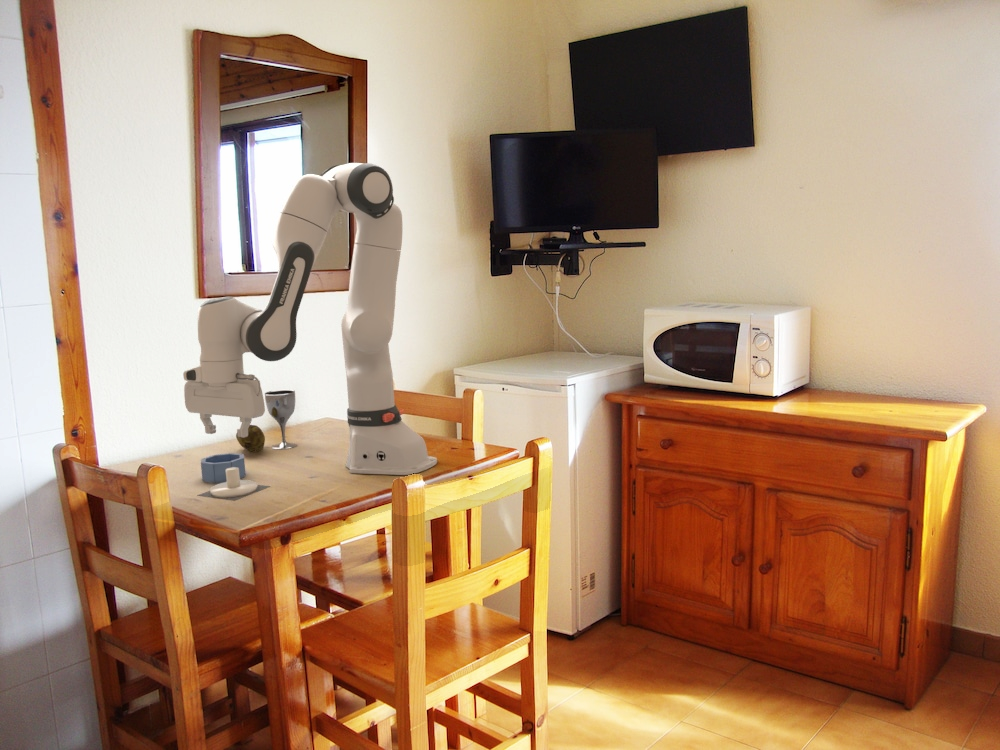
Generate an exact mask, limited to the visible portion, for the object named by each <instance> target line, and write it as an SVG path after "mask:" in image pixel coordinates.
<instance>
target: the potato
mask: <svg viewBox="0 0 1000 750" xmlns="http://www.w3.org/2000/svg"><path fill="white" fill-rule="evenodd" d="M237 434H238V433H237V432H236V434H235V437H236V439H237V442H238V444H239V445H240V447H242V448H244V449H245V450H246V451H249V452H259V451H262V450H263V449H264V446H265V442H266V437H265V433H264V432H263V431H262V429H261V428H260V427H259V426H258V425H255V424H250V426H249V428H248V436H247V437H244V438H243V437H238V436H237Z"/></svg>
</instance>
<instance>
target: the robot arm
mask: <svg viewBox="0 0 1000 750" xmlns="http://www.w3.org/2000/svg"><path fill="white" fill-rule="evenodd" d="M392 182H393V181H392V180H391V177H390V175H389V174H388V171H386V170H385V169H384V168H382V167H380V166H379V165H377V164H373V163H369V162H365V163H361V162H349V163H345V164H337V165H333V166H331V167H328V168H327V169H325V170H324V171H323V172H322V173H321V174H319V175H318V174H313V173H308V174H305V175H302V176H300V177H299V178H298V179H297V180H296V182H295V183H294V185H293V186H292V188H291V189H290V191H289V193H288V194H287V197H286V199H285V200H284V203H283V205H282V207H281V209H280V211H279V214H278V216H277V220H276V222H275V226H274V229H273V236H272V241H271V242H272V246H273V249H274V251H275V253H276V256H277V261H278V271H277V275H276V278H275V281H274V283H273V287H272V289H271V292H270V295H269V298H268V300H267V301H268V302H267V304H266V306H265V308H264V309H263V310H262V309H259V308H255V307H253V306H250V305H247V304H245V303H243V302H241V301H239V300H238V299H236V298H235V297H234V296H223V297H222V296H221V297H216V298H211V299H207V300H206V301H204V302H203V303H202V304H201V305H200V306H199V308H198V312H197V313H198V314H197V340H198V342H199V343H198V344H199V346H200V356H199V365H197V366H195V367H192V368H190V369H187V370H184V372H183V380H184V381H186V382H185V383H184V389H183V391H184V392H183V393H184V394H183V395H184V396H183V397H184V404H185V408H186V410H187V411H188V413H191V414H192V413H193V414H199V418H200V421H201V422H202V424H203V426H204V431H205V434H208V435H214V434H216V432H217V429H216V428H217V426H216V424H214V423H213V421H212V419H211V418H212V416H225V417H233V418H239V422H240V423H241V425H240V427H239V428H237V429H236V434H237V433H238V434H237V436H238V437H243V438H244V437H247V436H248V428H249V426H250V425H251V424H252V421H253V419H256V418H259V417H262V416H263V415H264V414H265V412H266V409H265V408H266V404H265V398H264V392H263V390H262V387H261V381H260V380H259V378H258V377H256V376H255V374H245V372H244V370H245V369H244V357H243V356H244V354H246V353H252V354H253V355H254V356H255V357H256V358H258V359H260V360H261V361H264V362H277V361H278V362H279V361H280V360H283V359H285V358H286V357H287V356H289V355H290V354H291V353H292V351H293V349H294V348H295V345H296V343H297V342H296V341H297V337H298V336H297V335H298V333H297V318H298V317H297V316H298V312H299V309H300V305H301V302H302V300H303V297H304V294H305V291H306V287H307V284H308V282H309V278H310V276H311V272H312V269H313V266H315V265H314V264H315V262H316V261H317V258H318V256H319V254H320V252H321V249H322V247H323V245H324V243H325V240H326V238H327V235H328V232H329V230H330V226H331V225H332V221H333V219H334V218H335V216H336V215H337V214H338V213H339V212H345V213H350V214H351V213H352V214H353V216H354V218H355V223H356V231H355V236H354V244H353V251H352V258H351V265H350V273H349V274H350V275H349V286H348V295H347V296H348V297H347V304H346V305H347V307H346V312H345V313H344V315H343V316H342V320H341V324H340V325H341V336H342V346H343V347H342V348H343V349H342V350H343V356H344V366H345V373H346V374H345V375H346V387H347V390H346V391H347V400H348V401H347V402H348V408H347V410H346V414H347V416H346V417H347V424H348V428H349V443H348V444H349V445H348V452H347V458H346V459H347V460H346V464H345V466H346V468H347V469H349V473H350V474H364V475H365V474H366V475H369V474H370V475H391V476H393V475H395V476H410V475H414V474H418V473H421V472H424V471H427V470H429V469H431V468H433V467H434V466H436V465H437V464H438V459H437V457H436V456H431V455H428V448H427V445H426V441H425V439H424V438H423V437H422V436H421V435H420V434H418V433H417V432H416V431H415V430H414V429H412V428H411V427H410V426H409V425H407V424H406V423H405V422H404V421H402V416H403V415H405V413H406V412H404V411H405V408H403V409H401V410H399V409H398V407H397V406H396V404H395V393H394V390H395V389H394V379H393V378H394V373H393V368H392V363H391V355H390V354H391V353H390V346H389V343H390V341H391V340H392V335H393V329H394V319H395V309H396V308H395V307H396V292H397V291H396V290H397V281H398V275H399V274H398V273H399V266H400V261H401V260H400V258H401V250H402V243H403V214H402V211H401V209H400V207H399V206H398V205H397V204H395V203H394V202H395V198H394V188H393V183H392ZM413 473H414V474H413Z"/></svg>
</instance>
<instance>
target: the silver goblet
mask: <svg viewBox="0 0 1000 750" xmlns="http://www.w3.org/2000/svg"><path fill="white" fill-rule="evenodd" d="M264 402H265V407H266V409H267V412H268V414H269V415H270V416H271V417H272V418H273V420H275V421H276V422H277V423H278V425H279V427H280V431H281V438H282V439H281V442H280V443H276V444H273V445H272V446H271V447H270V448H271V449H272V450H287V449H291V448H292V449H294V448H295V447H297V446H298V445H299V444H298V443H296V442H289V441H287V440H286V425H287V422H288V421H289V419H291V417H292V415H293V413H294V412H295V409H296V391H295V390H294V389H278V390H277V389H276V390H271V391H266V392H264Z"/></svg>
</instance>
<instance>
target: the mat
mask: <svg viewBox="0 0 1000 750" xmlns="http://www.w3.org/2000/svg"><path fill="white" fill-rule="evenodd" d="M257 486H258V489H257V490H256V491H254V492H252V493H250V494H247V495H242V496H237V497H227V498H221V497H214V496H212V495H211V494H210V490H208V491H205V492H203V493H202V492H201V493H200V494H197V497H204V498H213V499H219V500H226V501H234V502H235V501H238V500H239V499H242V498H245V497H248V496H250V495H253V494H255V493H257V492H260V491H263V490H266V489H268V488H270V487H271V486H270V485H264V484H263V485H262V484H257Z"/></svg>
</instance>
